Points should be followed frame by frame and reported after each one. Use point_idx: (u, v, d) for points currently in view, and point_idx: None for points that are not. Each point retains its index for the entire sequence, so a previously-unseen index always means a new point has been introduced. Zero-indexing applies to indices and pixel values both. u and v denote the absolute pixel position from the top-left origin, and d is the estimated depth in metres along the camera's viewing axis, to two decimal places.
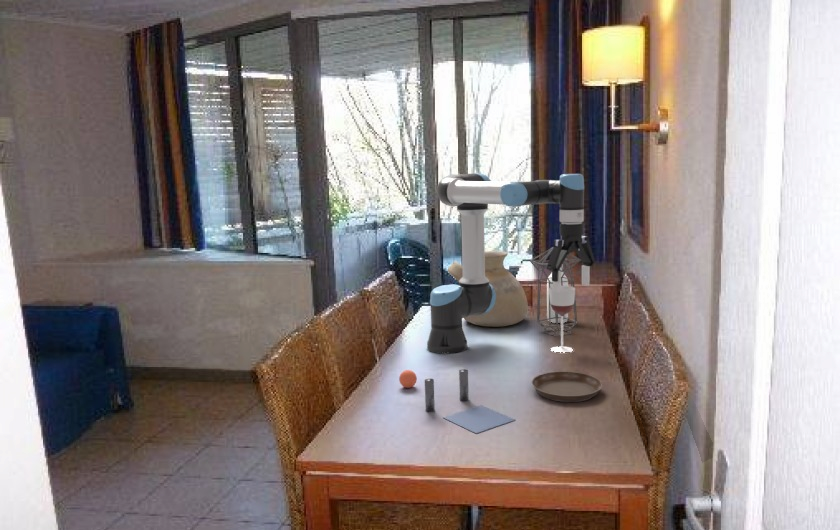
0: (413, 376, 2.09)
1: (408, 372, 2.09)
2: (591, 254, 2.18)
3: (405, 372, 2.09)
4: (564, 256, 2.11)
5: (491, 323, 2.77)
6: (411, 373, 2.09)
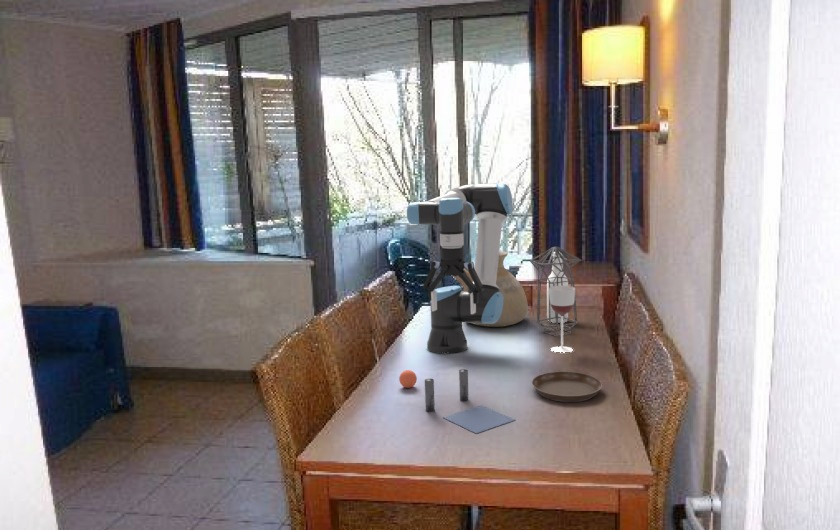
0: (413, 376, 2.09)
1: (408, 372, 2.09)
2: (475, 282, 2.10)
3: (405, 372, 2.09)
4: (438, 278, 2.15)
5: None
6: (411, 373, 2.09)
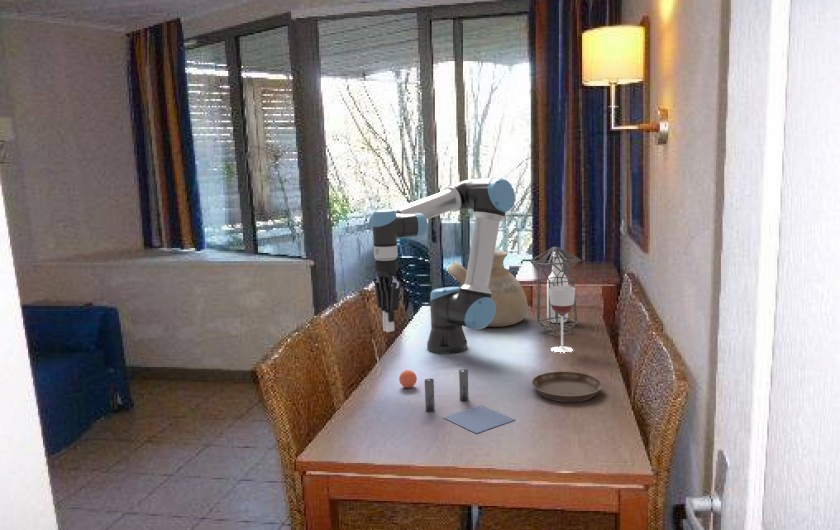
0: (413, 376, 2.09)
1: (408, 372, 2.09)
2: (391, 301, 2.11)
3: (405, 372, 2.09)
4: (381, 293, 2.15)
5: (491, 323, 2.77)
6: (411, 373, 2.09)
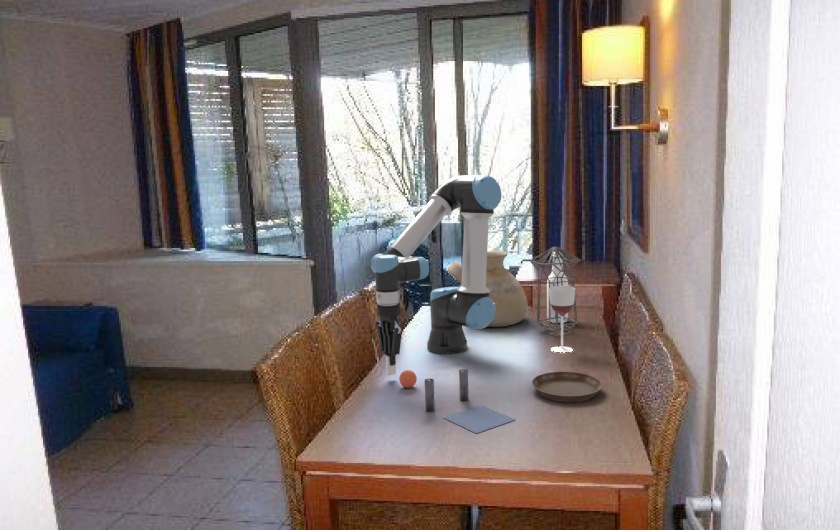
0: (413, 376, 2.09)
1: (408, 372, 2.09)
2: (392, 345, 2.13)
3: (405, 372, 2.09)
4: (384, 337, 2.17)
5: (491, 323, 2.77)
6: (411, 373, 2.09)
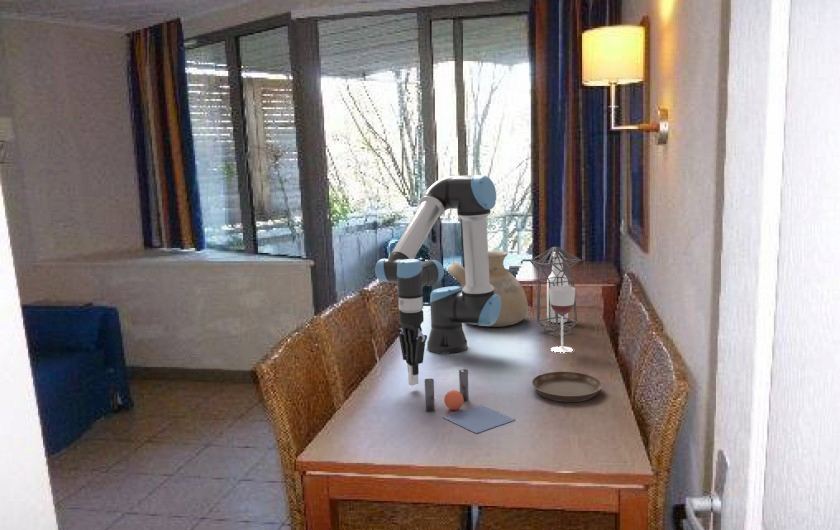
0: None
1: (455, 409, 1.90)
2: (416, 354, 2.03)
3: (454, 408, 1.89)
4: (406, 345, 2.07)
5: None
6: (456, 409, 1.91)
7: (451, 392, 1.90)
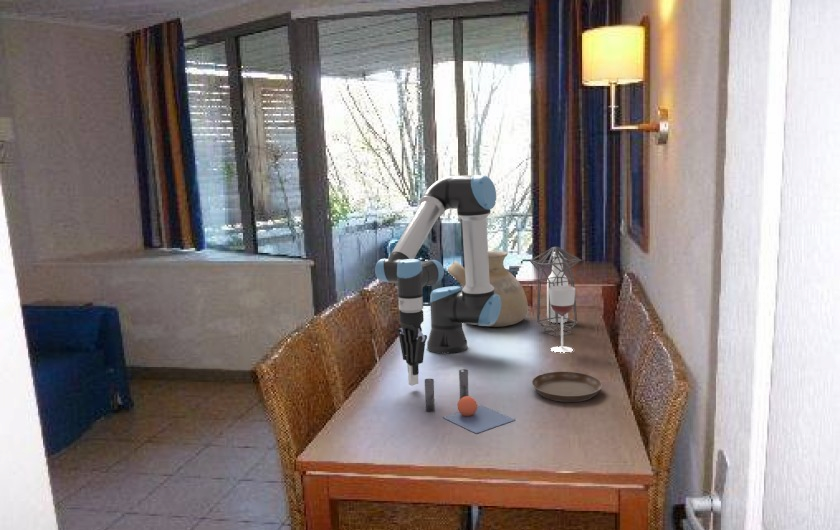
0: None
1: None
2: (416, 354, 2.03)
3: None
4: (406, 345, 2.07)
5: None
6: None
7: (468, 415, 1.84)
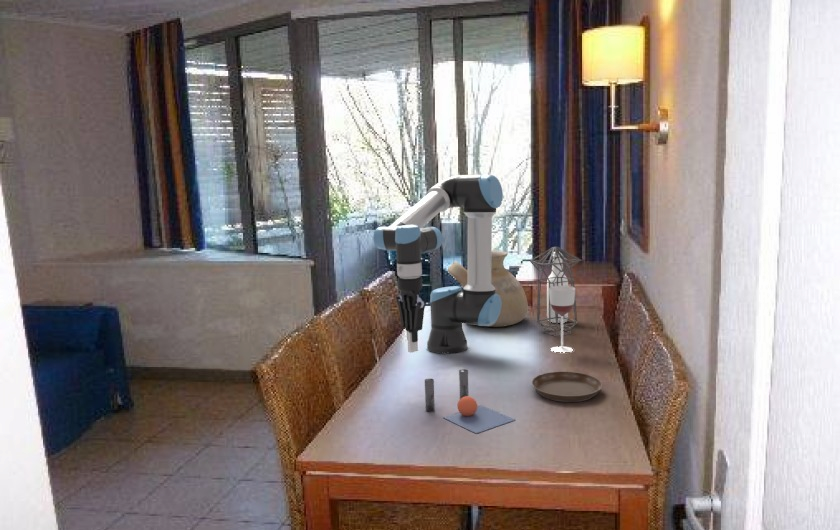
0: None
1: None
2: (415, 321, 2.02)
3: None
4: (405, 312, 2.05)
5: None
6: None
7: (468, 415, 1.84)
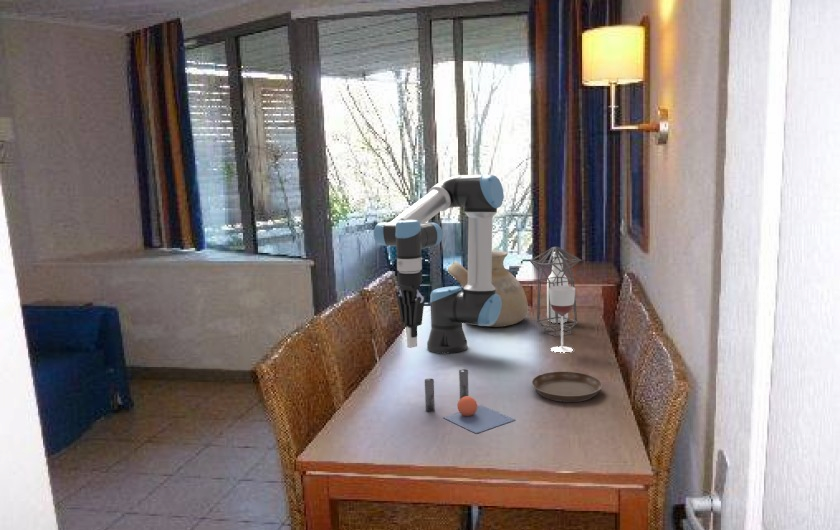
0: None
1: None
2: (414, 316, 2.01)
3: None
4: (405, 308, 2.05)
5: None
6: None
7: (468, 415, 1.84)
